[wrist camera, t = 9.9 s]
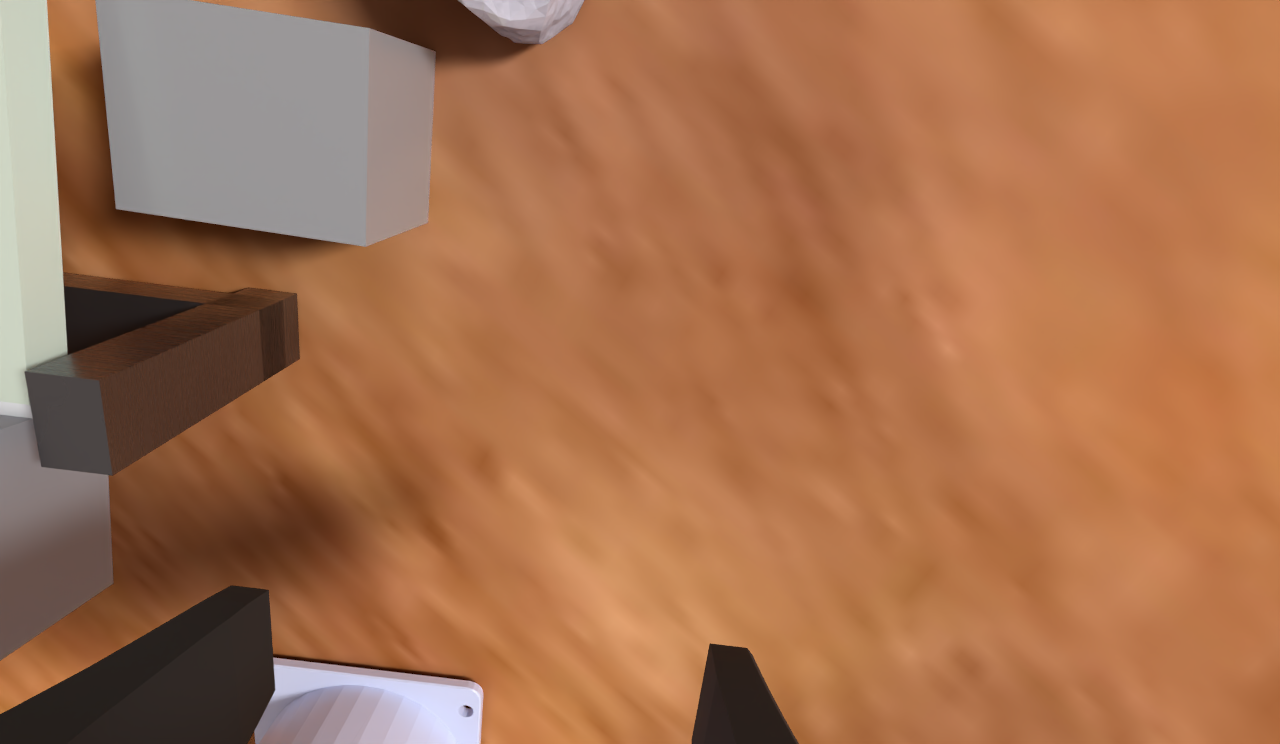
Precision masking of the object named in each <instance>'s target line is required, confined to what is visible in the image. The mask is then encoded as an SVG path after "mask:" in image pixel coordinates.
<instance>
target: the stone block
mask: <svg viewBox="0 0 1280 744" xmlns="http://www.w3.org/2000/svg"><path fill="white" fill-rule="evenodd" d="M458 1H459V2H461V3H462V4H463V5H464V6H465V7H467V8H468V9H469V10H470V11H471V12H472V13H474V14H475V15H476V16H478V17H479V18H480V19H482V20H483V21H484V22H485V23H486V24H488V25H489V26H490V27H491V28H492V29H494V30H495V31H496V32H498V33H499V34H500V35H502V36H504V37H508V38H509V39H510V40H512V41H513V42H514V43H523V44H543V43H545V42H546V41H548V40H549V39H551V38H552V37H554V36H555V35H556V34H558V33H559V32H560V31H562V30H563V29H565V28H566V27H567V26H569V25H570V24H572V23H573V21H574V19H575V17H576V16H577V14H578V12H579V10H580V8H581V6H582V4H583V2H584V0H458Z"/></svg>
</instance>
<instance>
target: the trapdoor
mask: <svg viewBox="0 0 1280 744" xmlns="http://www.w3.org/2000/svg"><path fill="white" fill-rule="evenodd" d="M67 355H68V352H67V335H66V318H65V301H64V284H63V268H62V251H61V234H60V217H59V200H58V183H57V166H56V149H55V132H54V115H53V98H52V81H51V65H50V48H49V31H48V14H47V0H0V660H2V659H3V658H5V657H6V656H8V655H9V654H11V653H12V652H14V651H15V650H16V649H18V648H19V647H21V646H22V645H24V644H25V643H27V642H28V641H30V640H31V639H33V638H34V637H36V636H37V635H38V634H40V633H41V632H43V631H44V630H46V629H47V628H49V627H50V626H52V625H53V624H55V623H56V622H58V621H59V620H60V619H62V618H63V617H65V616H66V615H68V614H69V613H71V612H72V611H74V610H75V609H77V608H78V607H80V606H81V605H82V604H84V603H85V602H87V601H88V600H90V599H91V598H93V597H94V596H96V595H97V594H99V593H100V592H101V591H103V590H104V589H106V588H107V587H109V586H110V585H112V584H113V562H112V541H111V520H110V499H109V478H108V475H104V474H96V473H87V472H79V471H71V470H62V469H54V468H46V467H41V462H40V457H39V451H38V445H37V440H36V434H35V429H34V423H33V417H32V412H31V406H30V400H29V395H28V389H27V384H26V378H25V372H24V371H27V370H30V369H32V368H35V367H38V366H40V365H43V364H46V363H48V362H51V361H54V360H56V359H59V358H62V357H64V356H67Z"/></svg>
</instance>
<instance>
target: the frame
mask: <svg viewBox="0 0 1280 744" xmlns="http://www.w3.org/2000/svg"><path fill="white" fill-rule="evenodd" d="M63 284H64V301H65V318H66V335H67V352H68V355H67V356H64V357H62V358H59V359H56V360H54V361H51V362H48V363H46V364H43V365H40V366H38V367H35V368H32V369H30V370H27V371H24V372H25V378H26V384H27V389H28V395H29V400H30V406H31V412H32V417H33V423H34V429H35V434H36V440H37V445H38V451H39V457H40V462H41V467H46V468H54V469H62V470H71V471H79V472H87V473H96V474H104V475H112V476H113V475H114V474H116V473H117V472H119V471H121V470H122V469H124V468H125V467H127V466H129V465H130V464H132V463H133V462H135V461H137V460H138V459H140V458H141V457H143V456H145V455H146V454H148V453H150V452H151V451H153V450H154V449H156V448H158V447H159V446H161V445H162V444H164V443H166V442H167V441H169V440H170V439H172V438H174V437H175V436H177V435H178V434H180V433H182V432H183V431H185V430H186V429H188V428H190V427H191V426H193V425H194V424H196V423H198V422H199V421H201V420H202V419H204V418H206V417H207V416H209V415H210V414H212V413H214V412H215V411H217V410H219V409H220V408H222V407H223V406H225V405H227V404H228V403H230V402H231V401H233V400H235V399H236V398H238V397H239V396H241V395H243V394H244V393H246V392H247V391H249V390H251V389H252V388H254V387H255V386H257V385H259V384H260V383H262V382H263V381H265V380H267V379H268V378H270V377H271V376H273V375H275V374H276V373H278V372H280V371H281V370H283V369H284V368H286V367H288V366H289V365H291V364H292V363H294V362H296V361H297V360H299V359H300V356H299V332H298V308H297V294H296V293H288V292H280V291H272V290H264V289H256V288H246V289H243V290H241V291H238V292H235V293H233V294H232V293H223V292H215V291H207V290H199V289H191V288H183V287H175V286H167V285H159V284H151V283H143V282H134V281H126V280H118V279H110V278H102V277H94V276H86V275H78V274H70V273H63Z"/></svg>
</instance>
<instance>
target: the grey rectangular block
mask: <svg viewBox="0 0 1280 744" xmlns="http://www.w3.org/2000/svg"><path fill="white" fill-rule="evenodd" d="M96 11H97V21H98V31H99V41H100V51H101V62H102V72H103V82H104V92H105V102H106V113H107V123H108V133H109V143H110V153H111V164H112V174H113V184H114V194H115V204H116V209H119V210H126V211H133V212H139V213H146V214H153V215H159V216H166V217H172V218H179V219H186V220H192V221H199V222H206V223H212V224H219V225H226V226H232V227H239V228H245V229H252V230H259V231H265V232H272V233H279V234H285V235H292V236H299V237H305V238H312V239H318V240H325V241H332V242H338V243H345V244H352V245H358V246H365V247H366V246H369V245H371V244H374V243H376V242H379V241H382V240H384V239H387V238H390V237H392V236H395V235H397V234H400V233H403V232H405V231H408V230H410V229H413V228H416V227H418V226H421V225H423V224H426V223H428V211H429V189H430V167H431V146H432V124H433V102H434V80H435V58H436V51H433V50H430V49H427V48H424V47H422V46H419V45H416V44H413V43H410V42H407V41H404V40H402V39H399V38H396V37H393V36H390V35H387V34H385V33H382V32H379V31H376V30H373V29H370V28H365V27H359V26H352V25H346V24H340V23H333V22H327V21H320V20H314V19H307V18H301V17H295V16H288V15H282V14H275V13H269V12H262V11H256V10H250V9H243V8H237V7H230V6H224V5H217V4H211V3H205V2H198V1H192V0H96Z"/></svg>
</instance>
